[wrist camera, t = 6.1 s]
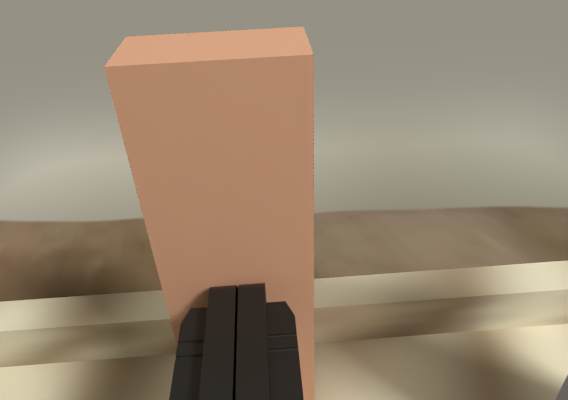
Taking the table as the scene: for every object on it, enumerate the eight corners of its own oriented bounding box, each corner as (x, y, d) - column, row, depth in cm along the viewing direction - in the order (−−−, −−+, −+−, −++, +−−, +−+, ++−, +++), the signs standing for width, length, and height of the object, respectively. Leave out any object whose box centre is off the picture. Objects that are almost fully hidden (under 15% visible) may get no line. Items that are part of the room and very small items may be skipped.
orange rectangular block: (195, 417, 16) (104, 66, 9) (200, 366, 17) (126, 36, 11) (314, 407, 16) (313, 54, 9) (308, 357, 18) (303, 26, 11)
